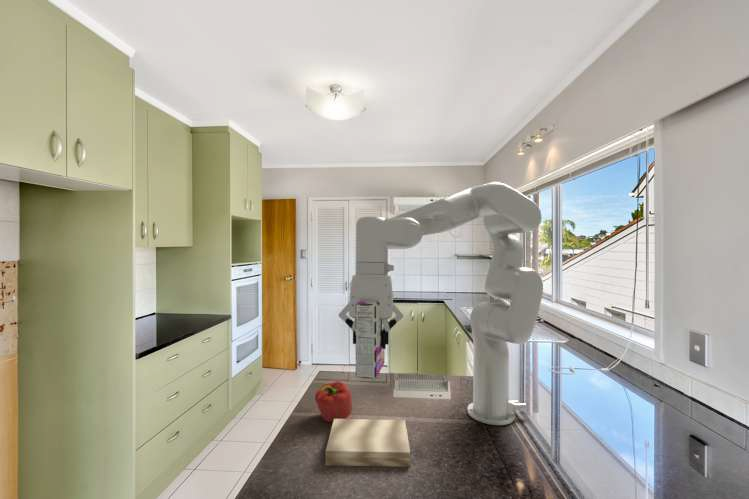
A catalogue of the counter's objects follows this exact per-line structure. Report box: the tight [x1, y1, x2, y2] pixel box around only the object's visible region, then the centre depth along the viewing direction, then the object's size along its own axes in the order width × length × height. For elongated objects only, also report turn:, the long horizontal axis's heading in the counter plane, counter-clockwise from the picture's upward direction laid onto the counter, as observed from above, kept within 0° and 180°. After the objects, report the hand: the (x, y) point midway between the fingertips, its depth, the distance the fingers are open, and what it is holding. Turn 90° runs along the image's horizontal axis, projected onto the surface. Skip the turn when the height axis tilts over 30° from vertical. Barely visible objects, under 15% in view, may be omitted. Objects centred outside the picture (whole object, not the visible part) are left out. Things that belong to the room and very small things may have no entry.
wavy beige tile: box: [324, 418, 411, 468], centre depth 79 cm, size 18×14×3 cm
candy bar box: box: [355, 302, 385, 380], centre depth 79 cm, size 11×5×16 cm, turn 169°
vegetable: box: [314, 381, 353, 423], centre depth 92 cm, size 11×10×10 cm
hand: (370, 346), depth 79 cm, fingers closed on candy bar box, 5 cm apart
